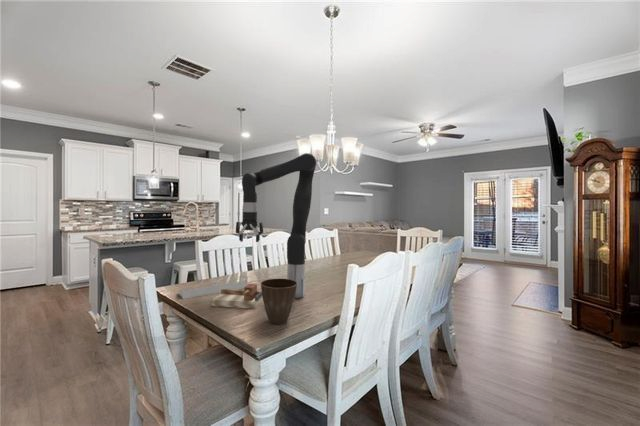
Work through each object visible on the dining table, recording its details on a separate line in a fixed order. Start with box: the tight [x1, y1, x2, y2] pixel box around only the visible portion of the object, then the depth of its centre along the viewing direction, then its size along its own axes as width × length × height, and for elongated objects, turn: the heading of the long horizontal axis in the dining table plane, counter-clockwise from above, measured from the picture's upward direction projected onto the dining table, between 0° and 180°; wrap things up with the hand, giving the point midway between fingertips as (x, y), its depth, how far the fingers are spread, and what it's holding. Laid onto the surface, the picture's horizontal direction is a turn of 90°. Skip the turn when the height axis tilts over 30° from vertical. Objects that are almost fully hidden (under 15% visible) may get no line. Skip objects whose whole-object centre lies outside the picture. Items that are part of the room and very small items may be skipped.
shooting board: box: [211, 289, 263, 309], centre depth 145 cm, size 21×11×5 cm, turn 85°
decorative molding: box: [177, 280, 248, 300], centre depth 164 cm, size 34×5×10 cm
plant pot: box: [260, 278, 297, 325], centre depth 124 cm, size 15×15×16 cm
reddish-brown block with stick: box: [243, 283, 258, 300], centre depth 142 cm, size 4×12×6 cm, turn 175°
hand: (249, 241), depth 159 cm, fingers open, 8 cm apart
